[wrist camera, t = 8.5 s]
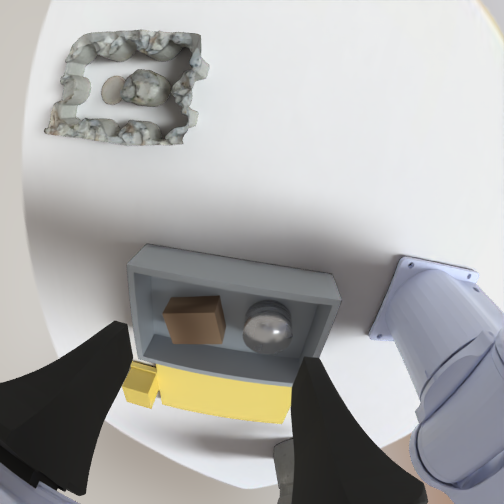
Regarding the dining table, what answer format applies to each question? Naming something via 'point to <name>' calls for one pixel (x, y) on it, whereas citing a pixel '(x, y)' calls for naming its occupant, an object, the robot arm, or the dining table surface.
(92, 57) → the egg carton
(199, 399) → the lid
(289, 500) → the coffeepot
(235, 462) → the dining table surface
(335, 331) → the dining table surface
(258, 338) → the grey rounded puck
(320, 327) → the tub
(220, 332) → the walnut block
